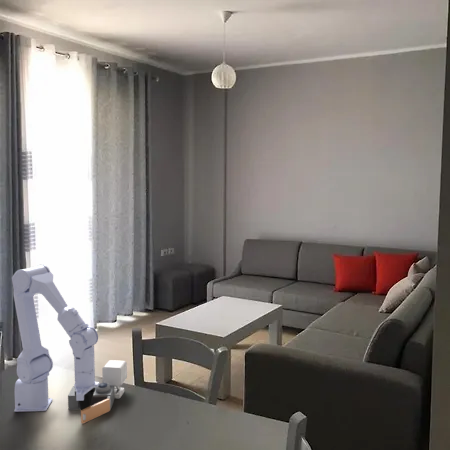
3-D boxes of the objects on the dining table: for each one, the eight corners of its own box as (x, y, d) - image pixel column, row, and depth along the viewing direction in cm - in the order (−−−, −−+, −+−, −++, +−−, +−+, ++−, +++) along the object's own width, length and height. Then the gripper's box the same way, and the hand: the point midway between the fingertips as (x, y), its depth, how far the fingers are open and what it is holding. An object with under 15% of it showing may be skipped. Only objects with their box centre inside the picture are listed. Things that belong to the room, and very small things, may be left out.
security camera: (127, 389, 175) (126, 360, 174) (121, 398, 168) (120, 368, 167) (108, 388, 175) (108, 359, 174) (101, 397, 169) (101, 367, 167)
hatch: (109, 408, 161) (108, 395, 160) (113, 410, 159) (113, 397, 159) (79, 422, 152) (79, 409, 152) (84, 424, 151) (83, 411, 150)
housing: (68, 409, 160) (67, 390, 159) (73, 399, 167) (73, 380, 166) (111, 409, 161) (110, 389, 160) (114, 398, 168) (114, 379, 167)
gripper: (93, 379, 146) (94, 424, 147) (102, 359, 160) (103, 401, 162) (68, 379, 145) (69, 425, 147) (79, 359, 160) (80, 402, 161)
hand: (85, 413), depth 154 cm, fingers closed, pressing on hatch
